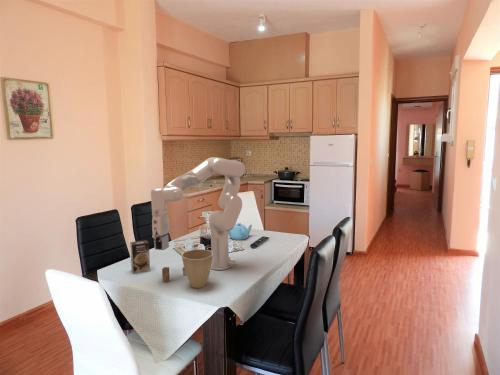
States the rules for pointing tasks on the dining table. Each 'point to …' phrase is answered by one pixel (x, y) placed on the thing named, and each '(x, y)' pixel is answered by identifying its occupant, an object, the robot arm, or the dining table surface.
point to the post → (165, 274)
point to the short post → (184, 271)
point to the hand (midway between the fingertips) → (161, 246)
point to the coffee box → (140, 256)
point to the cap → (163, 242)
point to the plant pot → (197, 266)
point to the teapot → (239, 232)
